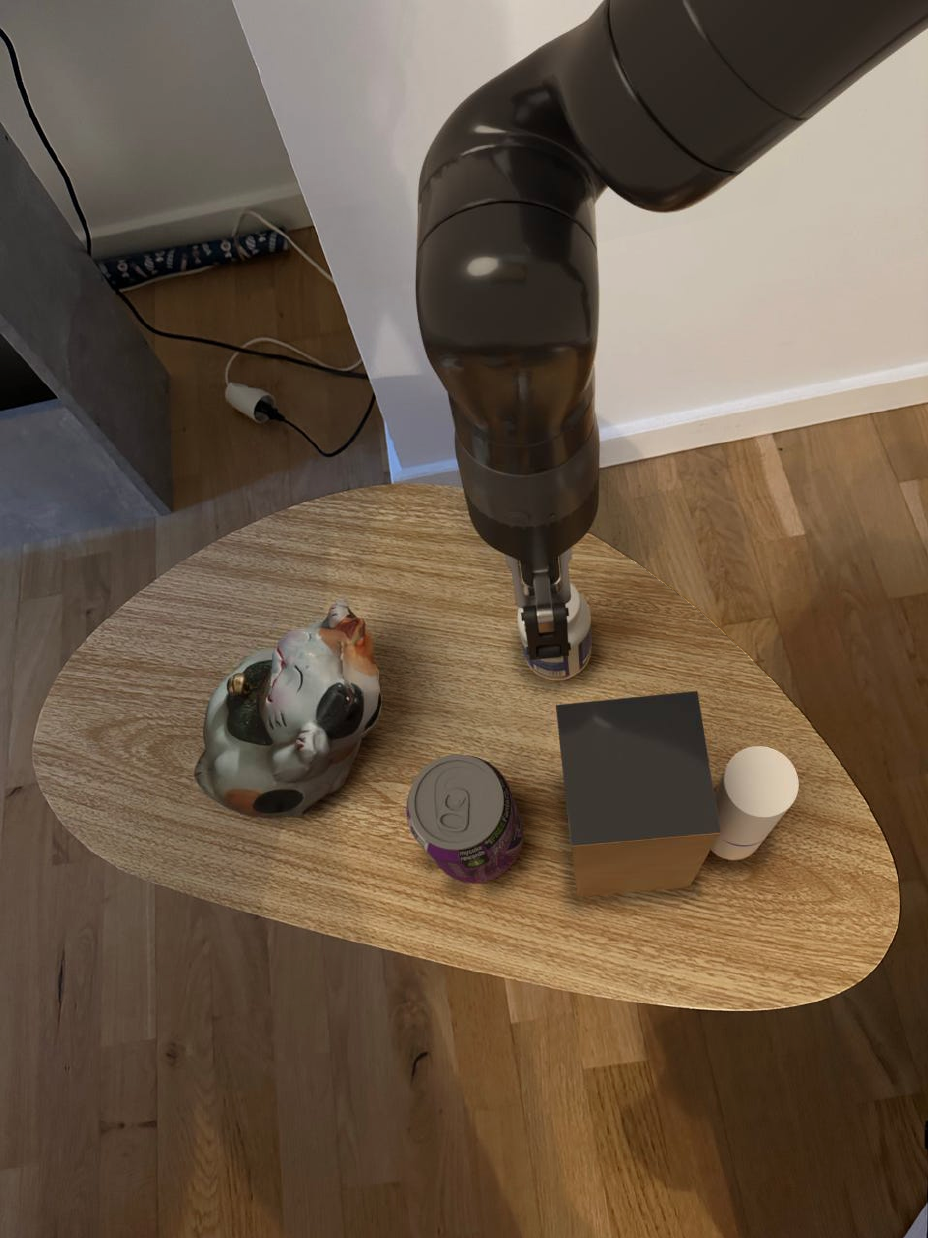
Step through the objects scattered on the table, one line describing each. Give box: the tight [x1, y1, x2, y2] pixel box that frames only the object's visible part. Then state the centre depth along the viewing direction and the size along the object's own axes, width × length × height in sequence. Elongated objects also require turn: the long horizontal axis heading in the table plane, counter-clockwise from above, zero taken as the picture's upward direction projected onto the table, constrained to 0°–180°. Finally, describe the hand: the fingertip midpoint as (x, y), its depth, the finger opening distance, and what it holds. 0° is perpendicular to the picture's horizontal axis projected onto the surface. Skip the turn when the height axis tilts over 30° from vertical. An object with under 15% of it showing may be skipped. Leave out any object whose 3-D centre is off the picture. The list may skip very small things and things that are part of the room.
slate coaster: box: [555, 690, 720, 848], centre depth 57 cm, size 8×8×1 cm
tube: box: [710, 745, 800, 861], centre depth 68 cm, size 4×4×15 cm
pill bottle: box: [516, 576, 593, 681], centre depth 78 cm, size 5×5×10 cm
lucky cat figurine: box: [193, 598, 383, 819], centre depth 76 cm, size 15×12×14 cm
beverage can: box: [405, 753, 524, 884], centre depth 72 cm, size 7×7×12 cm
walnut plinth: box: [570, 834, 719, 898], centre depth 67 cm, size 8×8×20 cm
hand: (541, 585), depth 70 cm, fingers open, 8 cm apart
